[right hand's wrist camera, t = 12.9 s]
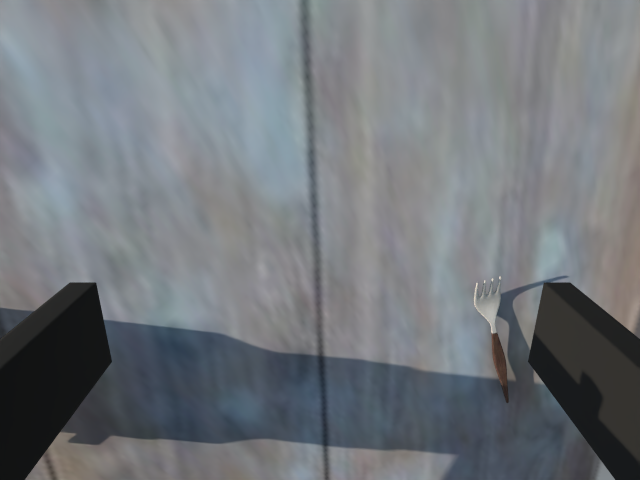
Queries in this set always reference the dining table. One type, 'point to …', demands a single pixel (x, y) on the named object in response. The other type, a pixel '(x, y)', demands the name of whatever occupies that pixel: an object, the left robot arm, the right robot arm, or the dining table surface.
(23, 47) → the dining table surface
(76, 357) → the right robot arm
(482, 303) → the fork
